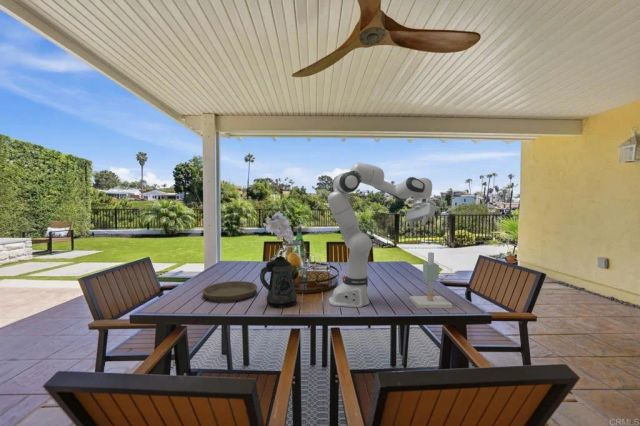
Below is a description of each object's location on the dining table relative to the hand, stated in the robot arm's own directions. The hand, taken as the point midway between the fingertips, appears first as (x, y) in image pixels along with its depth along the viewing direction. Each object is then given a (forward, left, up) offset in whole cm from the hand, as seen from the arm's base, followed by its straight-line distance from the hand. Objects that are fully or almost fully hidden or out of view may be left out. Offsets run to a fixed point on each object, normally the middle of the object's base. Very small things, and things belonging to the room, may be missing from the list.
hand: (416, 226), depth 165 cm
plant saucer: (-106, +13, -43) cm, 115 cm away
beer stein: (-75, -3, -42) cm, 86 cm away
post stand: (+7, -3, -42) cm, 43 cm away
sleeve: (+7, -3, -28) cm, 29 cm away
